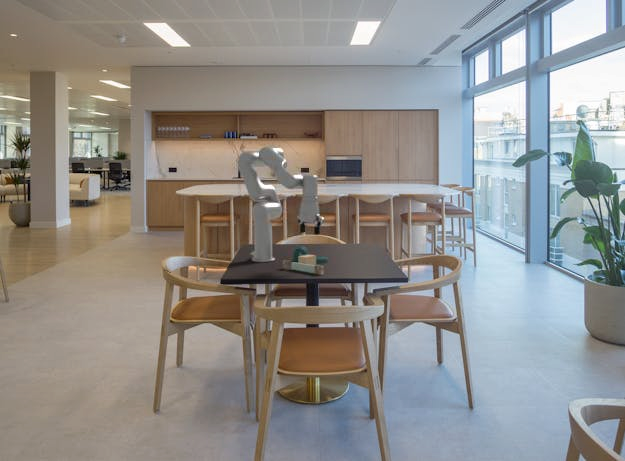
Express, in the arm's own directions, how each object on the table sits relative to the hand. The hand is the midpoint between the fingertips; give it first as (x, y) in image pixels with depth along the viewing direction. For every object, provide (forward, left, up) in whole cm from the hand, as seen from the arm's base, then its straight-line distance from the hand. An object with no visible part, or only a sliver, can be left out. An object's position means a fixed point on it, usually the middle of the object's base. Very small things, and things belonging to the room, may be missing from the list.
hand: (309, 233), depth 294 cm
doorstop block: (-2, 0, -18) cm, 18 cm away
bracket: (-11, +14, -18) cm, 25 cm away
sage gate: (+4, -9, -17) cm, 20 cm away
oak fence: (+3, -10, -18) cm, 20 cm away
